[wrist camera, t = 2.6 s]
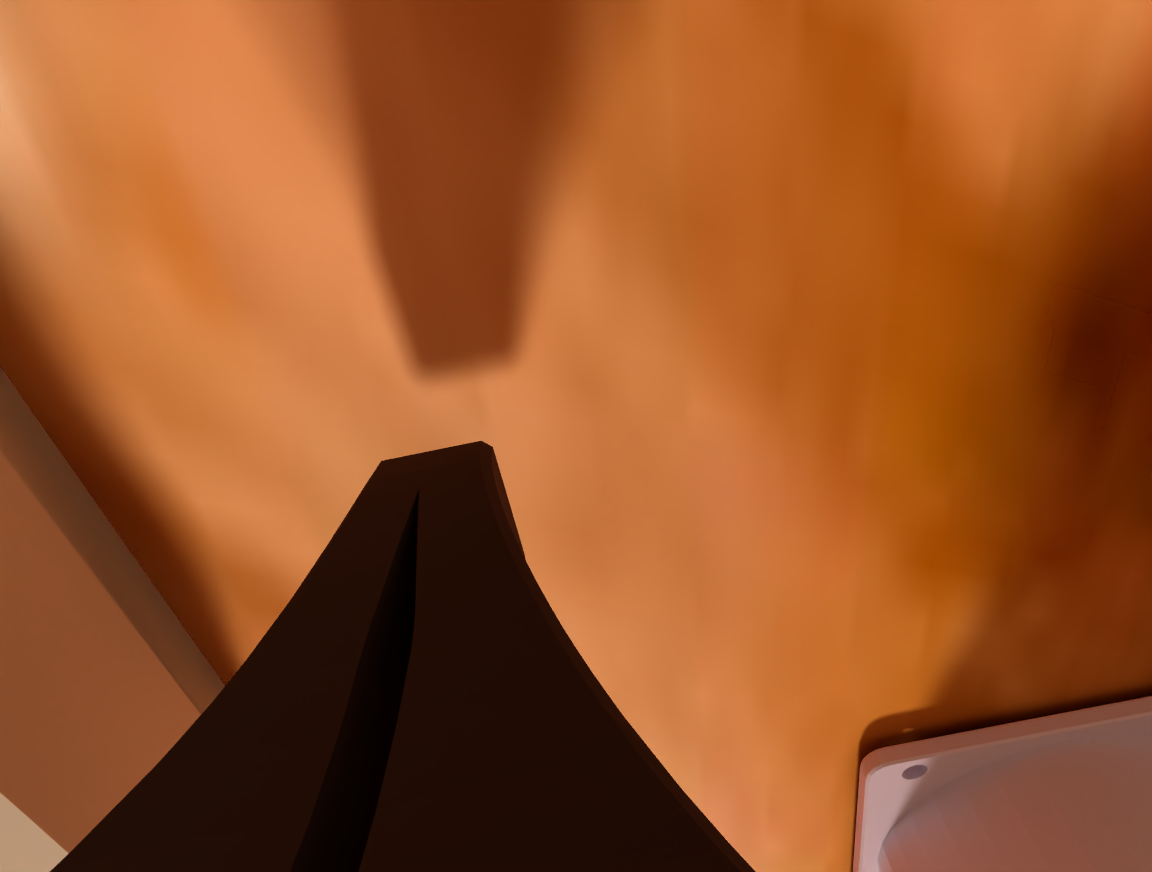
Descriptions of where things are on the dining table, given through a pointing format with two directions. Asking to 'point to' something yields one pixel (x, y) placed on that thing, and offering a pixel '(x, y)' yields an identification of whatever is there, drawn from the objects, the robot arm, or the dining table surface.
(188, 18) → the dining table surface
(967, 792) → the robot arm
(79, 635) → the tray
